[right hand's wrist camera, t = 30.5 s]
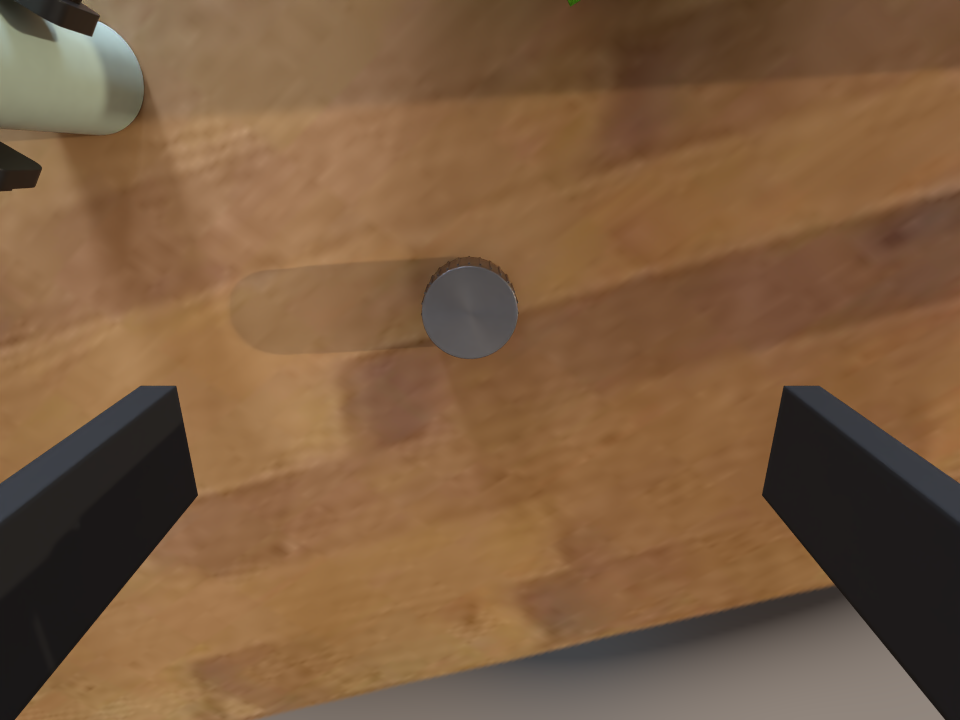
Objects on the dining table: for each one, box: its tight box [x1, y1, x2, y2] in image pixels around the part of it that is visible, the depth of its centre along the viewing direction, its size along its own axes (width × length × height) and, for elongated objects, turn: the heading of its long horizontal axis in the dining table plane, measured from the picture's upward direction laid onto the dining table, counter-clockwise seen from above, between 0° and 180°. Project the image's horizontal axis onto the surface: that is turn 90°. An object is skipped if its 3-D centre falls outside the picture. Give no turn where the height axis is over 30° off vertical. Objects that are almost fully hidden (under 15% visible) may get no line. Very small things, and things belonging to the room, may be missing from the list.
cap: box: [421, 256, 518, 359], centre depth 26 cm, size 4×4×2 cm
